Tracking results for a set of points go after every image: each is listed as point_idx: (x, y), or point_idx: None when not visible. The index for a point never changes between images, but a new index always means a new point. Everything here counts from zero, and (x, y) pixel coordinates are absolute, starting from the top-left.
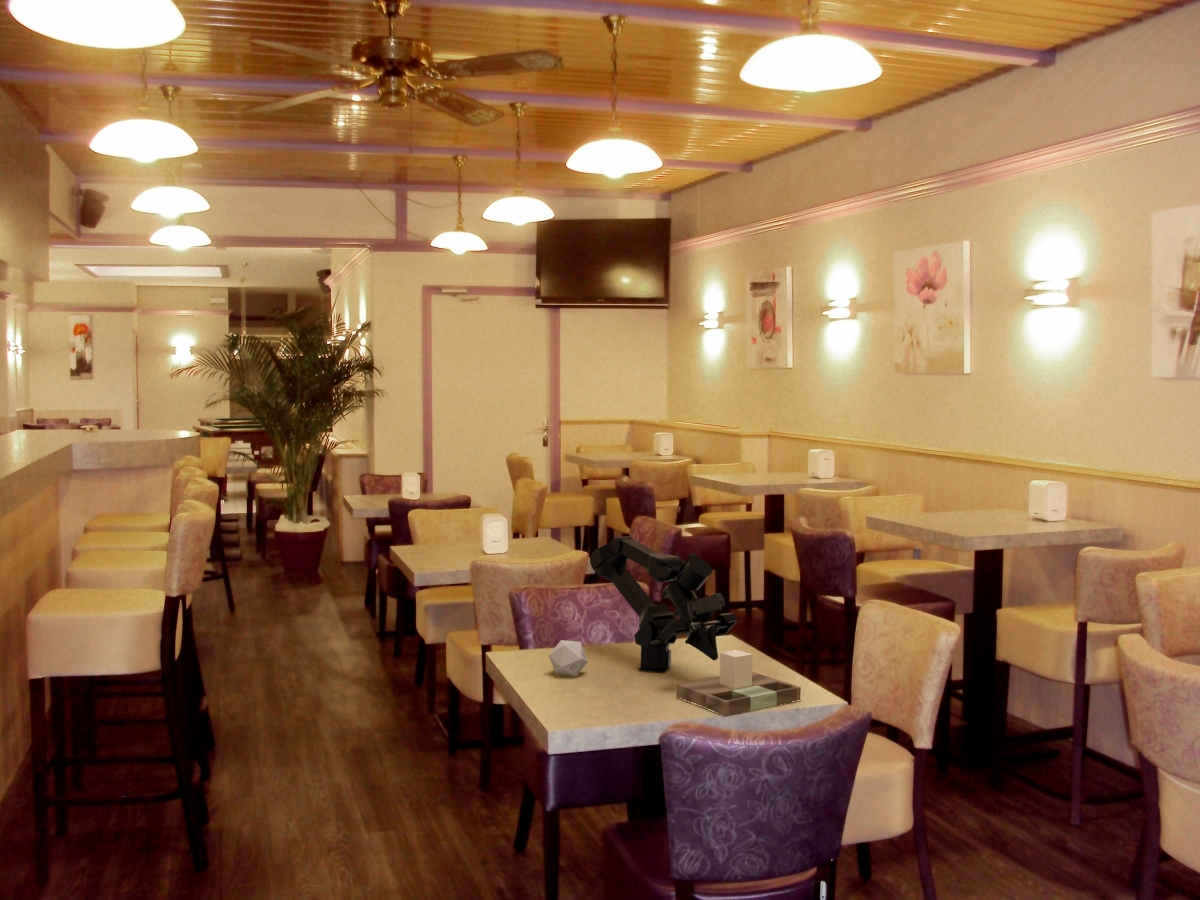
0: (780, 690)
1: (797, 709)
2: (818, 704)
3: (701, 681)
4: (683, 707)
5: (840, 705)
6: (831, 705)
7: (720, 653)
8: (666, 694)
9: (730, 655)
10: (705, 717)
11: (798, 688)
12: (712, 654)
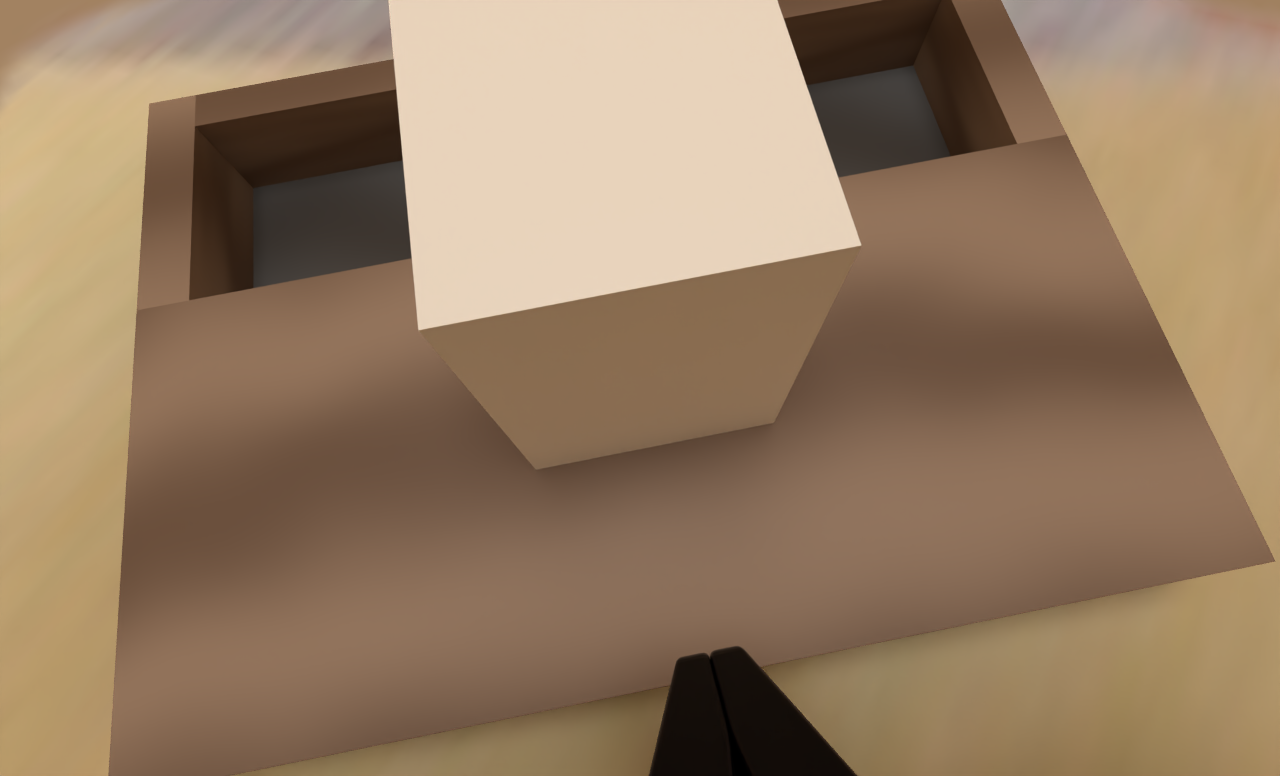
0: (367, 78)
1: (382, 38)
2: (175, 83)
3: (933, 572)
4: (1175, 302)
5: (70, 31)
6: (120, 45)
7: (853, 250)
8: (1239, 732)
9: (775, 32)
10: (1078, 64)
11: (178, 104)
12: (789, 706)
